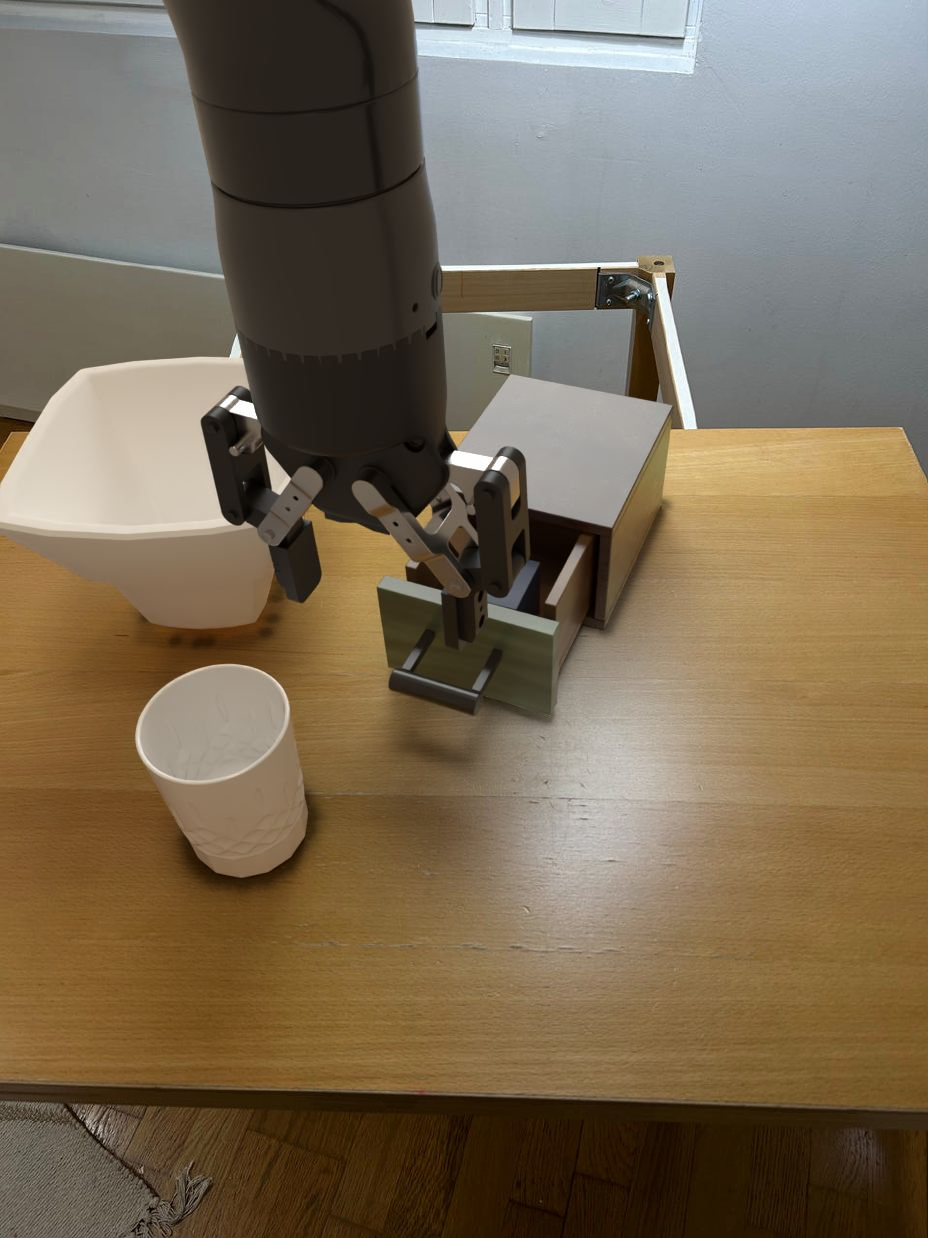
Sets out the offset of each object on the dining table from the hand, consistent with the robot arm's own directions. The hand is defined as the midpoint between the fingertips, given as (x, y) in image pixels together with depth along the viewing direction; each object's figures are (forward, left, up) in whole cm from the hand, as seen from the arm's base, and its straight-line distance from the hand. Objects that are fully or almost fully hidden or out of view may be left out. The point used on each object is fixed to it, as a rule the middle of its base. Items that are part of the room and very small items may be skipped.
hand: (382, 613), depth 47 cm
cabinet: (0, -25, -16) cm, 30 cm away
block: (0, -14, -14) cm, 20 cm away
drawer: (0, -13, -15) cm, 20 cm away
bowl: (+21, -11, -16) cm, 29 cm away
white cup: (+8, +5, -16) cm, 19 cm away
